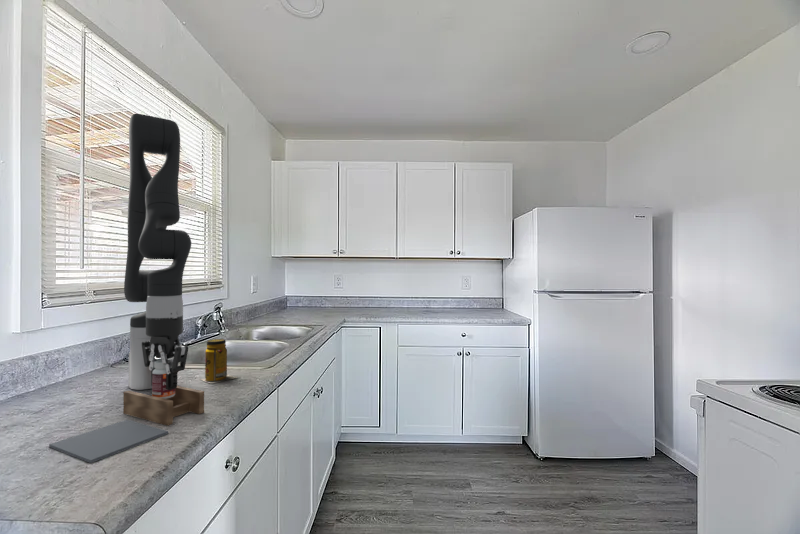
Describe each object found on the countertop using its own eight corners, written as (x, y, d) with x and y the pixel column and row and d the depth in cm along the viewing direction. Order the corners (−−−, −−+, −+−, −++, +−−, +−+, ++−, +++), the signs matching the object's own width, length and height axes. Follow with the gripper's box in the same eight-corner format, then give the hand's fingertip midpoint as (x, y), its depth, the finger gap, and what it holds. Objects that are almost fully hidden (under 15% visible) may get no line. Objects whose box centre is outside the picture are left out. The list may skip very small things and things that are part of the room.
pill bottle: (164, 400, 91) (165, 363, 91) (146, 399, 92) (147, 362, 92) (180, 394, 96) (180, 359, 96) (163, 392, 97) (163, 357, 97)
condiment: (199, 379, 122) (200, 340, 122) (226, 374, 128) (227, 336, 128) (210, 384, 117) (211, 343, 117) (238, 378, 123) (238, 339, 124)
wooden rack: (123, 413, 93) (123, 391, 93) (160, 402, 101) (160, 382, 101) (167, 425, 86) (167, 402, 86) (204, 412, 94) (204, 391, 94)
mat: (49, 446, 76) (49, 444, 76) (127, 421, 88) (127, 419, 88) (90, 463, 69) (90, 460, 69) (168, 433, 82) (168, 431, 82)
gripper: (129, 314, 93) (128, 387, 94) (169, 318, 87) (168, 396, 87) (161, 311, 100) (160, 379, 100) (199, 315, 94) (199, 387, 94)
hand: (164, 387), depth 94 cm, fingers closed on pill bottle, 4 cm apart
